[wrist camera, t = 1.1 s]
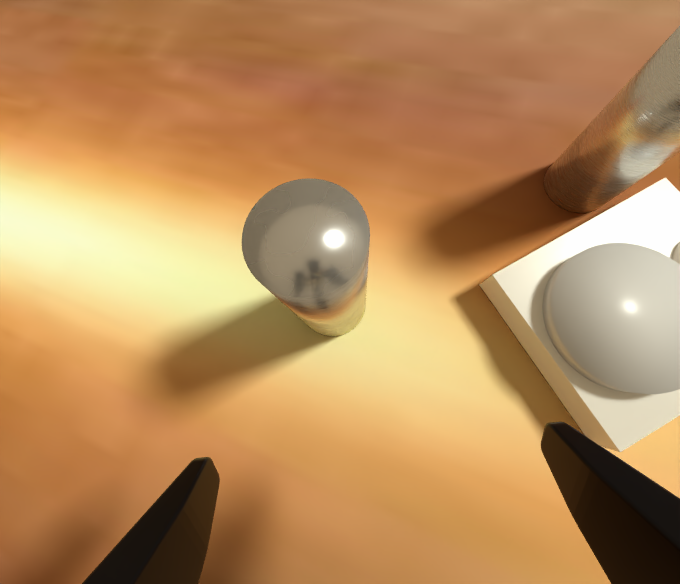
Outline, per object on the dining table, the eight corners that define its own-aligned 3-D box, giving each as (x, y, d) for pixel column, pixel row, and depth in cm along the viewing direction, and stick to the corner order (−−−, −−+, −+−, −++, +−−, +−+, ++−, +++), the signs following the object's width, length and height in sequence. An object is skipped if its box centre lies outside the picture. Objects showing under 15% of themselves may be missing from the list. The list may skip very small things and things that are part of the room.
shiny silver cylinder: (319, 348, 22) (275, 322, 11) (290, 291, 24) (222, 214, 12) (377, 315, 23) (394, 257, 11) (345, 261, 24) (331, 158, 12)
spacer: (571, 223, 24) (774, 79, 12) (531, 175, 25) (680, 2, 13) (623, 194, 24) (871, 26, 12) (581, 148, 25) (770, -45, 13)
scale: (590, 442, 20) (635, 456, 17) (479, 284, 23) (498, 269, 20) (764, 335, 21) (840, 328, 17) (635, 196, 24) (679, 168, 20)
